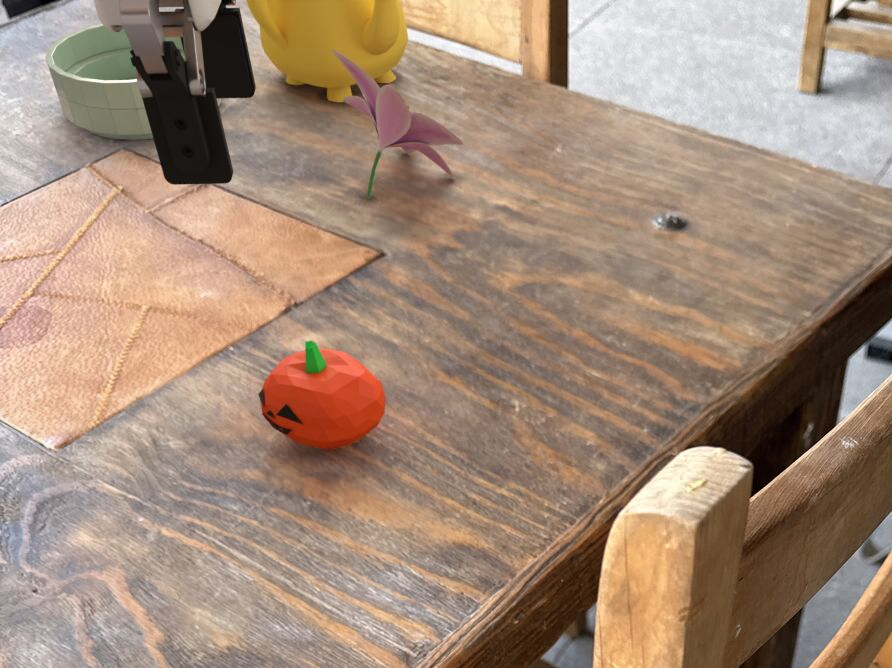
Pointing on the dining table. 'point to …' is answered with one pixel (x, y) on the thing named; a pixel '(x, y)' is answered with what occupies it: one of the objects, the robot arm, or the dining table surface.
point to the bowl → (100, 82)
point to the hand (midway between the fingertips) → (214, 136)
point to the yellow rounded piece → (331, 39)
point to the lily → (396, 120)
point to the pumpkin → (322, 398)
